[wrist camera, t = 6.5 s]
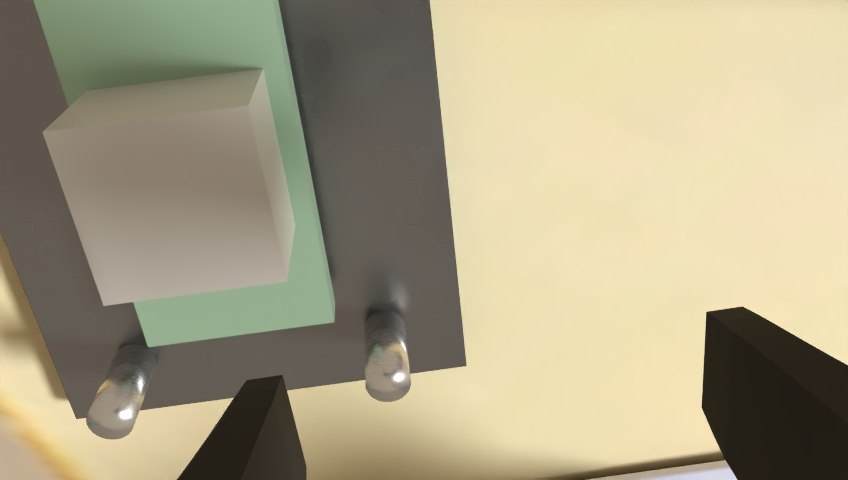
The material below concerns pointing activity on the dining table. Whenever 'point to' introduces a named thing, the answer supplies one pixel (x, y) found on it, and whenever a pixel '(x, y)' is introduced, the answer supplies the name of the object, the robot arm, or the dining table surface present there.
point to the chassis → (337, 207)
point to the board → (189, 48)
